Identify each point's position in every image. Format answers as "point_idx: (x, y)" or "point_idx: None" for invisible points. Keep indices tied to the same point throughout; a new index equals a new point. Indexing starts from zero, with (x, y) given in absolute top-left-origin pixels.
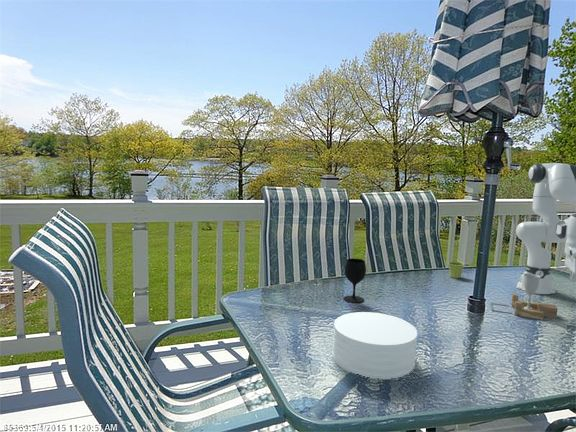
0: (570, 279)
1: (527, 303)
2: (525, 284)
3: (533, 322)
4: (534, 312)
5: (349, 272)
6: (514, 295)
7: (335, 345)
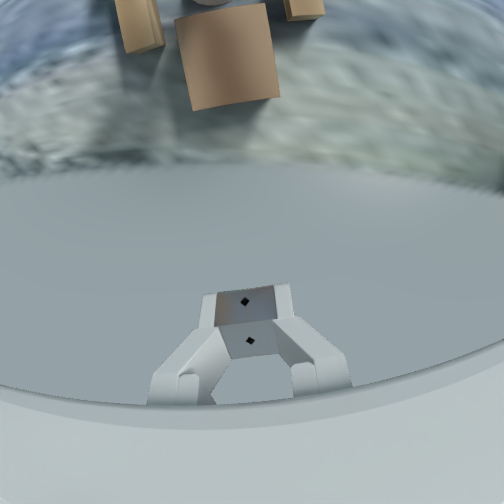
0: (271, 285)
1: None
2: None
3: (70, 37)
4: (118, 15)
5: None
6: None
7: None
